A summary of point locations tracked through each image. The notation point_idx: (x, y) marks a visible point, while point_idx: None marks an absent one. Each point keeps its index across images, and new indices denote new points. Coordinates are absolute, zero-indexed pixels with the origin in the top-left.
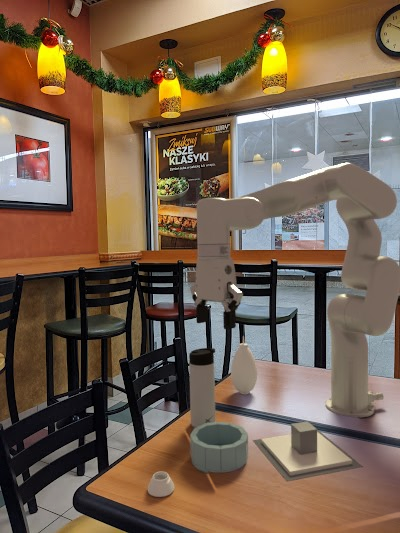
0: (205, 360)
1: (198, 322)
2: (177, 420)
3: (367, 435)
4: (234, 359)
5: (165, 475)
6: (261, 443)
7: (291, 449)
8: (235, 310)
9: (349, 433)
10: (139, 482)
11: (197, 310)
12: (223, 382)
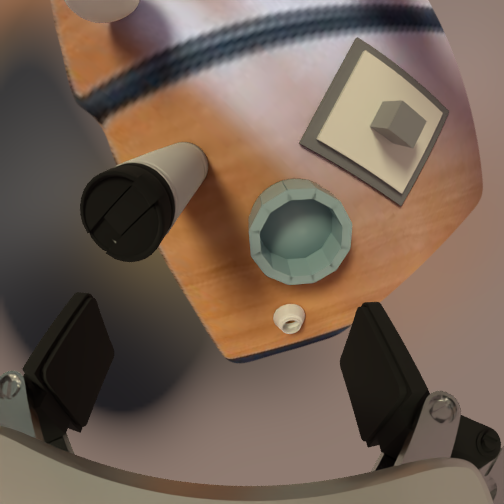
0: (168, 226)
1: (110, 353)
2: None
3: (408, 14)
4: (74, 3)
5: (289, 317)
6: (318, 141)
7: (375, 137)
8: (436, 399)
9: (389, 18)
10: (258, 323)
11: (87, 414)
12: (60, 20)
